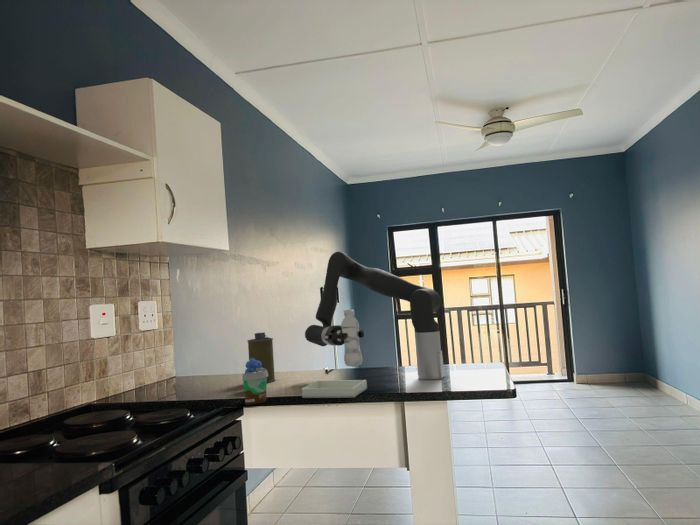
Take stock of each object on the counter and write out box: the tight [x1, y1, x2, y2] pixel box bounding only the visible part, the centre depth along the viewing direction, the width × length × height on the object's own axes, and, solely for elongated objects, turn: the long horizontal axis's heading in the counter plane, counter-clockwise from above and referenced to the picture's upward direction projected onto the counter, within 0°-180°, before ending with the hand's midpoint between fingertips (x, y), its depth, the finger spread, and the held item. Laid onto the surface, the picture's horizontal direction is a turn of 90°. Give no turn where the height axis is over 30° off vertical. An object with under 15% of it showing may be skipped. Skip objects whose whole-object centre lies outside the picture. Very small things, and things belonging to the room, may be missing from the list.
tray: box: [301, 379, 368, 399], centre depth 175 cm, size 18×15×3 cm
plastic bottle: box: [340, 309, 363, 368], centre depth 183 cm, size 6×7×20 cm
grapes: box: [244, 358, 264, 374], centre depth 191 cm, size 12×7×12 cm, turn 47°
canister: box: [247, 332, 276, 384], centre depth 212 cm, size 11×10×20 cm
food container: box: [242, 369, 269, 406], centre depth 170 cm, size 12×6×10 cm, turn 168°
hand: (353, 335), depth 181 cm, fingers closed on plastic bottle, 6 cm apart
